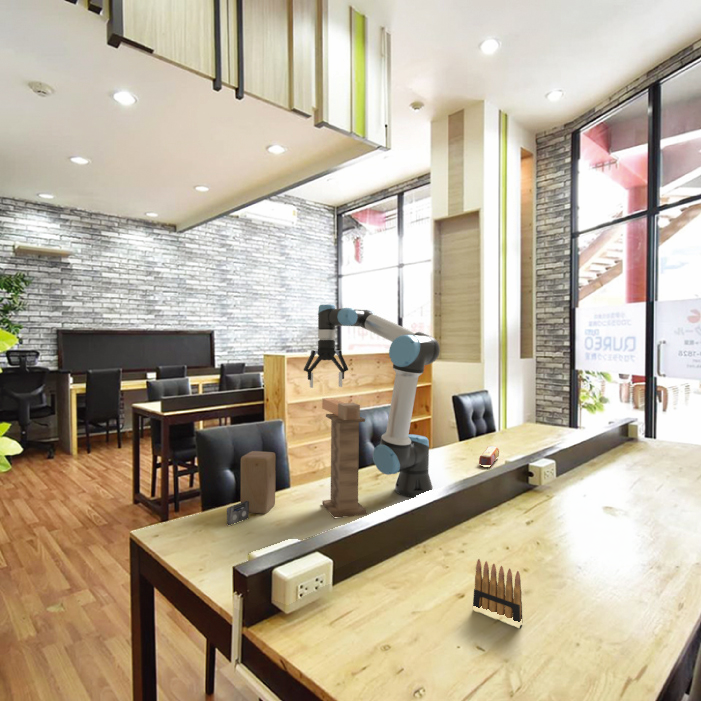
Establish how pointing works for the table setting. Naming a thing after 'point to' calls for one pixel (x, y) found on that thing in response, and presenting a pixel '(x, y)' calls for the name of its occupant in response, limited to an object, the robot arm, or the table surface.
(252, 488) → the wooden block
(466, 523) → the table surface
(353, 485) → the walnut stand
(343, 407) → the terracotta bar
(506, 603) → the ammunition clip
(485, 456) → the red printed rectangular box
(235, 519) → the mini dv tape
